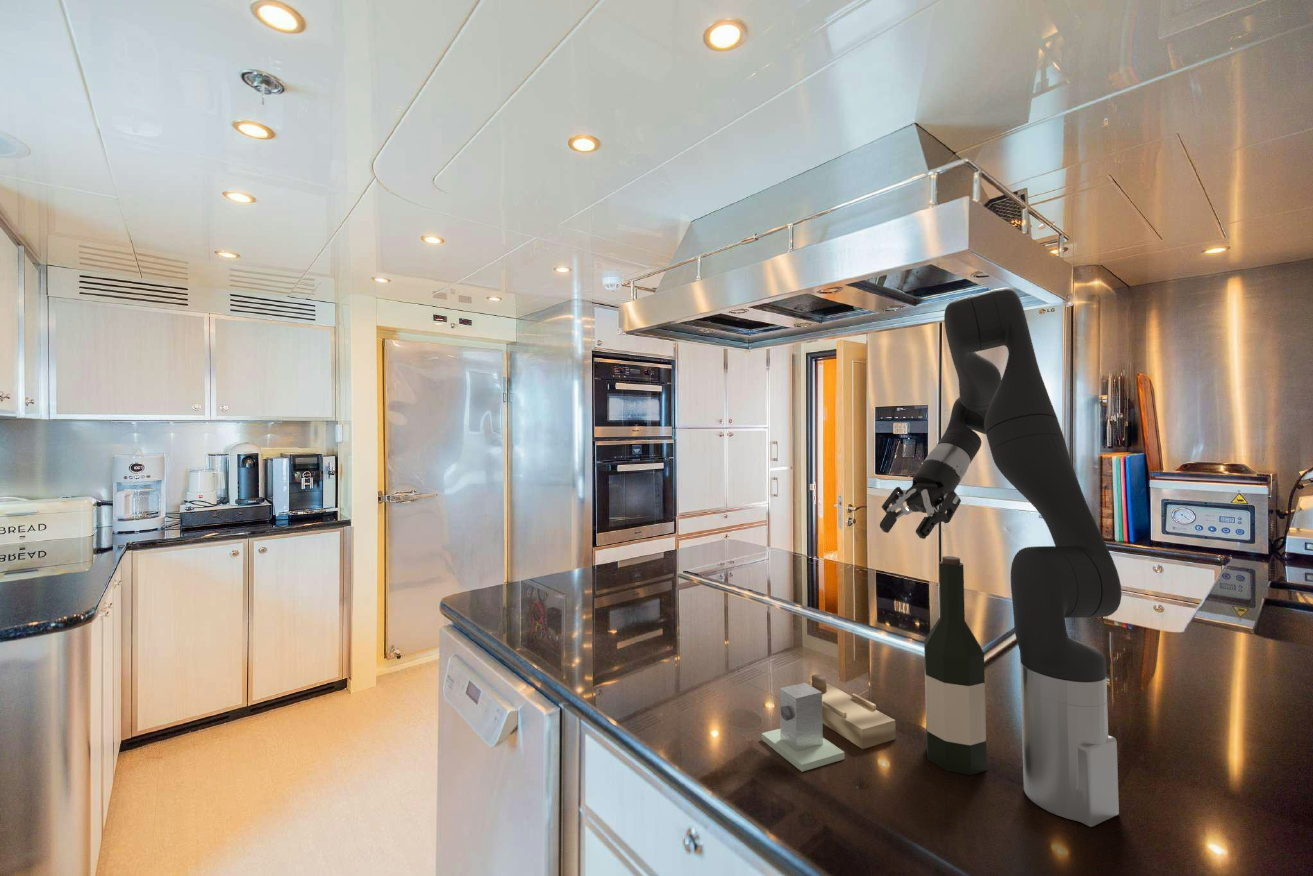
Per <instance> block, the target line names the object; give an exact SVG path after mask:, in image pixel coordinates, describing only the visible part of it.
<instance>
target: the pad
mask: <svg viewBox="0 0 1313 876" xmlns="http://www.w3.org/2000/svg"><path fill="white" fill-rule="evenodd" d="M761 740H762V741H763V742H764V743H765V744H766V745H768V746H769V748H771V749H773V750H774V751H775V752H776V753H778V754H779V755H780V756H781V757H783V758H784V759H785V760H786V761H788V762H789V763H790V764H792V765H793V766H794V767H795V768H796V769H798V770H799V771H801V772H805V771H809V770H812V769H816V768H819V767H820V768H821V767H822V766H825V765H830V764H832V763H836V762H839V761H843V760H845V759H846V757H845V751H844V750H842V749H841V748H839V747H837V746H836V745H835V744H834V743H832V742H831V741H829V740H828V739H826V738H825V737H823V745H820V746H816V747H813V748H809V749H806V750H802V751H799V752H796V751H795V750H793V749H792V748H791V747H789V746H788V745H787V744H785V743H784V742H783V741H782V740H780V728H776V729H773V730H768V731H764V732H761Z"/></svg>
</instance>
